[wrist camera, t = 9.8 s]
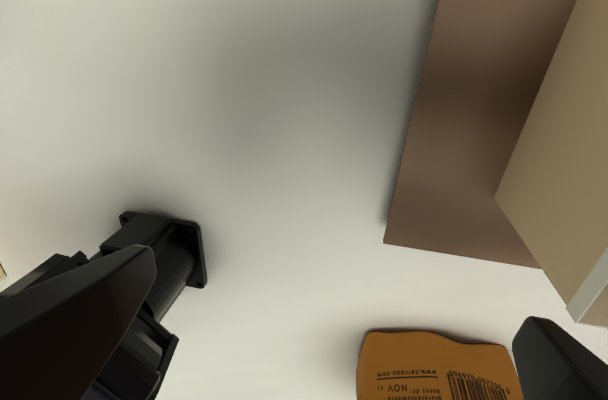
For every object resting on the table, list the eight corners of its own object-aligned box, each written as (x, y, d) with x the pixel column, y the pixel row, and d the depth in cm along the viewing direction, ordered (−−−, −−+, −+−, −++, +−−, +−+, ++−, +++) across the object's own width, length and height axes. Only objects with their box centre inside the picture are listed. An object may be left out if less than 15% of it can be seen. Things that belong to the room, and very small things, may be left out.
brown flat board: (636, 264, 19) (663, 288, 17) (382, 225, 21) (383, 243, 19) (943, -131, 10) (1056, -161, 9) (461, -131, 12) (476, -155, 11)
